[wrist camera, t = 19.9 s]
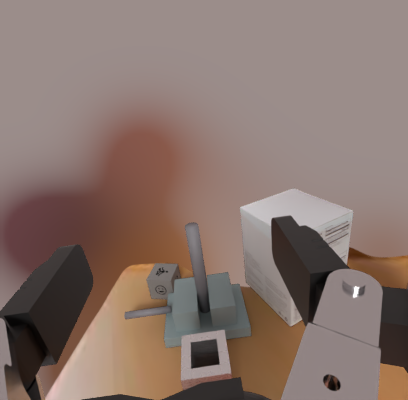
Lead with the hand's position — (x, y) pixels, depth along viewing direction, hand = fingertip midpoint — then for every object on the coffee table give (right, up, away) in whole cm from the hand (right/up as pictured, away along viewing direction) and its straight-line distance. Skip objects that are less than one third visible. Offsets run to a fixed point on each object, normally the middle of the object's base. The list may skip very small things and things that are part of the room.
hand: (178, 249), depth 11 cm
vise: (-2, -20, +36) cm, 41 cm away
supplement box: (+18, -15, +40) cm, 46 cm away
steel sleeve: (+2, -25, +23) cm, 34 cm away
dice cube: (-7, -17, +44) cm, 47 cm away
